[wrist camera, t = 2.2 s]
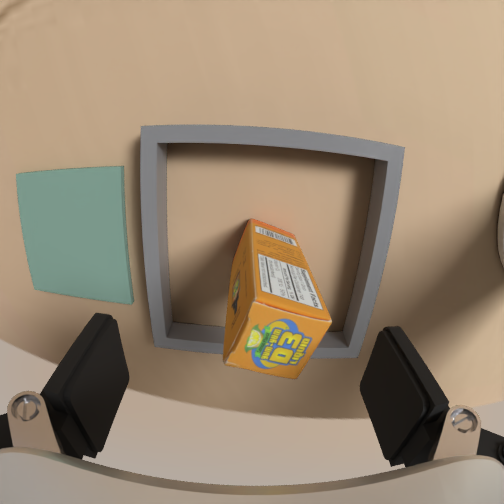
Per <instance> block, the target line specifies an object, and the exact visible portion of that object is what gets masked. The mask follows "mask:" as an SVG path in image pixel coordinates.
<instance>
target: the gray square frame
mask: <svg viewBox="0 0 504 504" xmlns="http://www.w3.org/2000/svg"><path fill="white" fill-rule="evenodd" d="M167 143H227V144H248V145H264V146H277V147H288V148H299V149H308V150H317V151H326V152H333V153H341V154H348V155H355V156H361V157H368V158H374V159H375V168H374V176H373V184H372V191H371V198H370V205H369V211H368V217H367V223H366V229H365V234H364V240H363V245H362V250H361V255H360V260H359V265H358V270H357V275H356V279H355V284H354V288H353V293H352V297H351V301H350V305H349V309H348V313H347V317H346V321H345V325H344V329H343V332H326V333H325V335H324V336H323V338H322V340H321V341H320V343H319V344H318V346H317V348H316V349H315V351H314V353H313V354H312V355H311V357H310V358H358V356H359V353H360V350H361V347H362V344H363V341H364V338H365V335H366V331H367V328H368V325H369V322H370V318H371V315H372V311H373V308H374V304H375V301H376V297H377V293H378V290H379V286H380V282H381V278H382V274H383V270H384V266H385V261H386V257H387V253H388V248H389V243H390V239H391V234H392V229H393V224H394V218H395V213H396V207H397V201H398V195H399V188H400V181H401V174H402V167H403V158H404V149H405V147H401V146H396V145H392V144H387V143H382V142H376V141H371V140H365V139H359V138H353V137H347V136H340V135H333V134H326V133H318V132H310V131H301V130H291V129H280V128H268V127H253V126H233V125H154V126H141V148H140V184H141V217H142V236H143V251H144V263H145V274H146V285H147V294H148V303H149V311H150V318H151V326H152V333H153V339H154V346H155V347H160V348H168V349H176V350H184V351H193V352H203V353H214V354H223V347H224V335H225V327H219V326H208V325H197V324H187V323H177V322H173V319H172V307H171V294H170V279H169V262H168V239H167Z"/></svg>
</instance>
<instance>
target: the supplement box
mask: <svg viewBox="0 0 504 504" xmlns="http://www.w3.org/2000/svg"><path fill="white" fill-rule="evenodd" d="M331 323H332V320H331V317H330V315H329V312H328V310H327V308H326V305H325V303H324V301H323V298H322V296H321V294H320V292H319V289H318V287H317V285H316V282H315V280H314V278H313V276H312V273H311V271H310V269H309V266H308V264H307V261H306V259H305V257H304V255H303V253H302V251H301V249H300V246H299V244H298V242H297V240H296V238H295V235H294V234H292V233H289V232H286V231H284V230H281V229H279V228H276V227H274V226H271V225H268V224H266V223H263V222H260V221H258V220H255V219H249V221H248V223H247V225H246V227H245V230H244V232H243V235H242V237H241V240H240V242H239V245H238V248H237V251H236V253H235V256H234V259H233V263H232V269H231V277H230V286H229V294H228V304H227V314H226V324H225V335H224V347H223V363H224V365H227V366H232V367H238V368H243V369H248V370H251V371H256V372H260V373H264V374H269V375H274V376H279V377H284V378H291V379H296V378H297V377H298V376H299V374H300V373H301V371H302V370H303V368H304V367H305V365H306V363H307V362H308V360H309V359H310V357H311V355H312V354H313V353H314V351H315V349H316V348H317V346H318V344H319V343H320V341H321V340H322V338H323V336H324V335H325V333H326V331H327V330H328V328H329V327H330V325H331Z"/></svg>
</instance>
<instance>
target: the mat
mask: <svg viewBox="0 0 504 504" xmlns="http://www.w3.org/2000/svg"><path fill="white" fill-rule="evenodd" d="M16 182H17V194H18V203H19V212H20V219H21V226H22V233H23V239H24V244H25V250H26V255H27V260H28V264H29V269H30V273H31V277H32V282H33V286H34V289H35V290H40V291H46V292H51V293H57V294H63V295H69V296H75V297H81V298H88V299H94V300H101V301H108V302H116V303H123V304H131V305H132V304H133V302H134V297H133V290H132V282H131V274H130V265H129V255H128V244H127V231H126V216H125V195H124V166H109V167H87V168H71V169H57V170H46V171H35V172H26V173H19V174H16Z"/></svg>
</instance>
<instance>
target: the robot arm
mask: <svg viewBox="0 0 504 504" xmlns="http://www.w3.org/2000/svg"><path fill="white" fill-rule="evenodd" d="M497 238H498V251H499V255H500V260H501V263H502V265H503V267H504V194H503V198H502V202H501V207H500V212H499V220H498V237H497ZM128 382H129V372H128V368H127V364H126V360H125V356H124V352H123V347H122V343H121V339H120V334H119V329H118V324H117V321H116V320H115V319H113V317H112V316H111V315H109V314H101V313H95V314H94V316H93V317H92V318H91V320H90V321H89V322H88V324H87V325H86V326H85V328H84V329H83V331H82V332H81V333H80V335H79V336H78V338H77V339H76V340H75V342H74V343H73V345H72V346H71V348H70V349H69V351H68V352H67V353H66V355H65V356H64V358H63V359H62V361H61V362H60V364H59V365H58V367H57V368H56V370H55V372H54V373H53V374H52V376H51V378H50V379H49V381H48V382H47V384H46V385H45V387H44V389H43V390H42V392H41V393H40V395H39V394H38V393H36V392H32V391H24V392H21V393H19V394H17V395H15V396H14V397H13V398H12V399H11V400H10V402H9V404H8V407H7V413H6V414H3V415H0V504H504V437H502V436H500V435H497V434H495V433H492V432H490V431H487V430H484V429H482V428H481V420H480V417H479V415H478V414H477V413H476V412H475V411H474V410H473V409H472V408H470V407H468V406H464V405H456V406H454V407H452V408H451V409H450V408H449V406H448V404H449V401H448V399H447V398H446V396H445V394H444V393H443V391H442V389H441V388H440V386H439V385H438V383H437V381H436V380H435V378H434V377H433V375H432V373H431V372H430V370H429V369H428V367H427V366H426V364H425V363H424V361H423V360H422V358H421V356H420V355H419V353H418V352H417V350H416V349H415V347H414V346H413V344H412V343H411V342H410V340H409V339H408V337H407V336H406V334H405V333H404V331H403V330H402V328H401V327H399V326H395V327H385V328H384V329H383V331H380V332H379V334H378V336H377V339H376V342H375V345H374V348H373V351H372V354H371V356H370V359H369V362H368V364H367V367H366V370H365V372H364V375H363V377H362V380H361V383H360V392H361V395H362V397H363V400H364V403H365V405H366V408H367V411H368V413H369V416H370V419H371V421H372V424H373V427H374V430H375V433H376V435H377V438H378V441H379V444H380V447H381V449H382V453H383V455H384V458H385V459H386V460H389V462H390V465H391V467H392V466H395V465H400V464H404V465H405V467H406V468H402V469H397V470H393V471H389V472H384V473H379V474H375V475H369V476H364V477H358V478H352V479H346V480H338V481H332V482H322V483H313V484H299V485H281V486H233V485H216V484H204V483H193V482H185V481H177V480H170V479H164V478H157V477H152V476H146V475H142V474H136V473H132V472H128V471H123V470H119V469H115V468H110V467H106V466H103V465H99V464H95V463H91V462H88V461H85V460H82V458H83V455H86V456H89V457H92V458H96V455H97V453H98V452H101V451H102V450H103V448H104V445H105V442H106V439H107V436H108V434H109V431H110V428H111V426H112V423H113V420H114V418H115V415H116V413H117V410H118V408H119V405H120V402H121V400H122V397H123V395H124V392H125V390H126V387H127V385H128Z"/></svg>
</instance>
